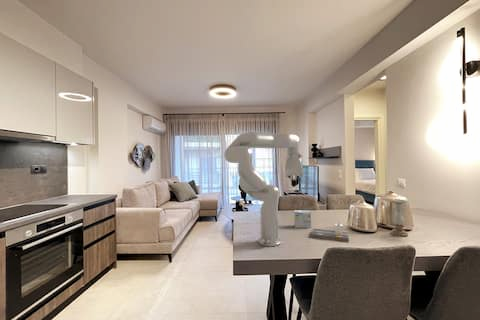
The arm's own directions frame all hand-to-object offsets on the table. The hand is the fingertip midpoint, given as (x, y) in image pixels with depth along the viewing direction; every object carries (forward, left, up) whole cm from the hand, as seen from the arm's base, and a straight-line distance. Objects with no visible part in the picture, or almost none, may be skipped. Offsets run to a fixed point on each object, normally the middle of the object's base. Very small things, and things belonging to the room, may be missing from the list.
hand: (293, 186), depth 140 cm
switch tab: (+3, -25, -27) cm, 37 cm away
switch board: (+3, -20, -29) cm, 35 cm away
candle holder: (+23, -58, -29) cm, 69 cm away
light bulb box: (+18, -2, -29) cm, 35 cm away
